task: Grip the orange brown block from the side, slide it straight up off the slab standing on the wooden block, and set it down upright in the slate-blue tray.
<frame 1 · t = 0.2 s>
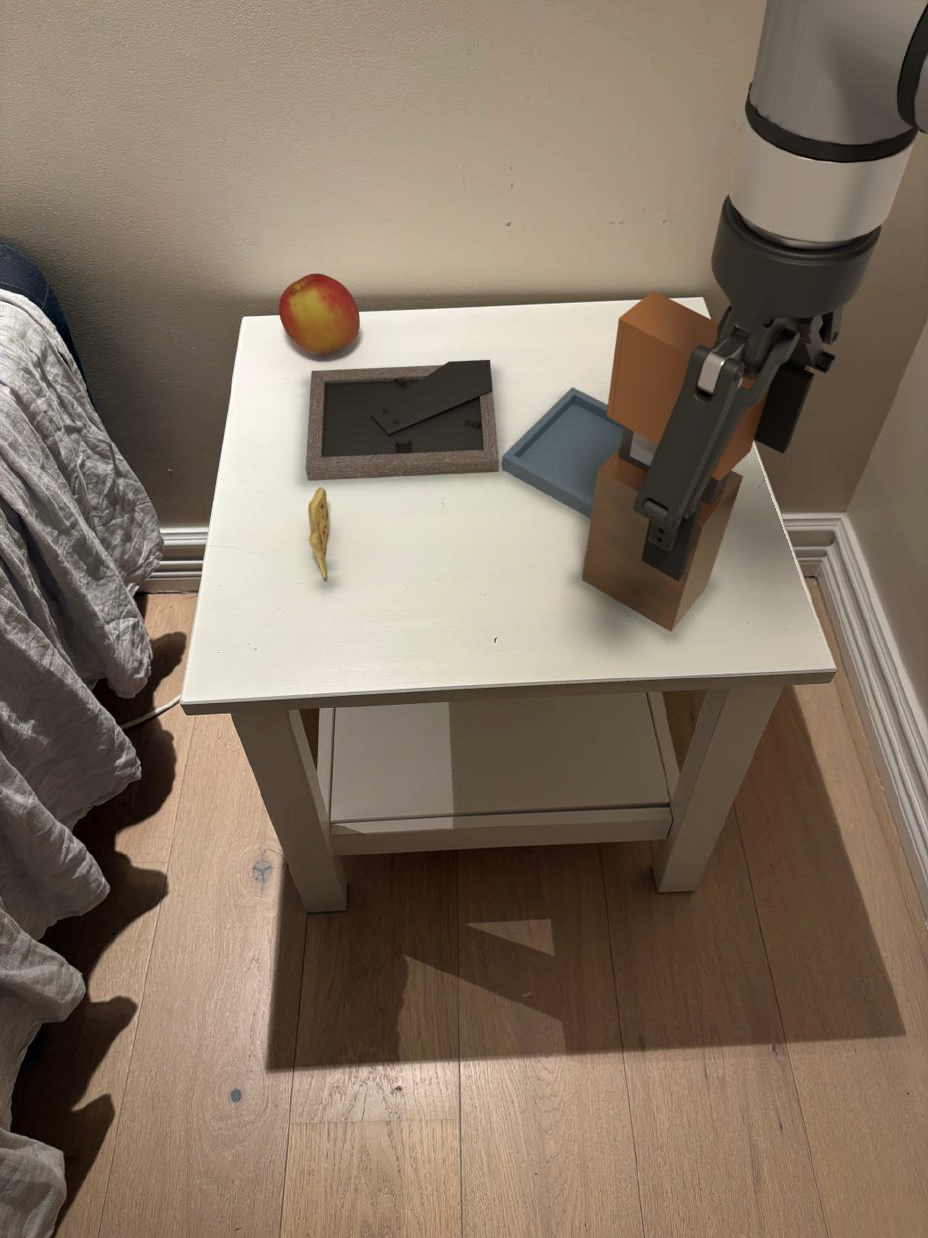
hand: (717, 502, 64), 19 cm above the table, tool pointing down, fingers open, 13 cm apart
orange brown block: (677, 433, 69), point 18 cm above the table, touching wooden block with slab, gripper
apple: (325, 347, 102), on the table
wooden block with slab: (644, 582, 84), on the table
picture frame: (402, 426, 95), on the table
tray: (595, 464, 92), on the table
pastry: (323, 548, 87), on the table
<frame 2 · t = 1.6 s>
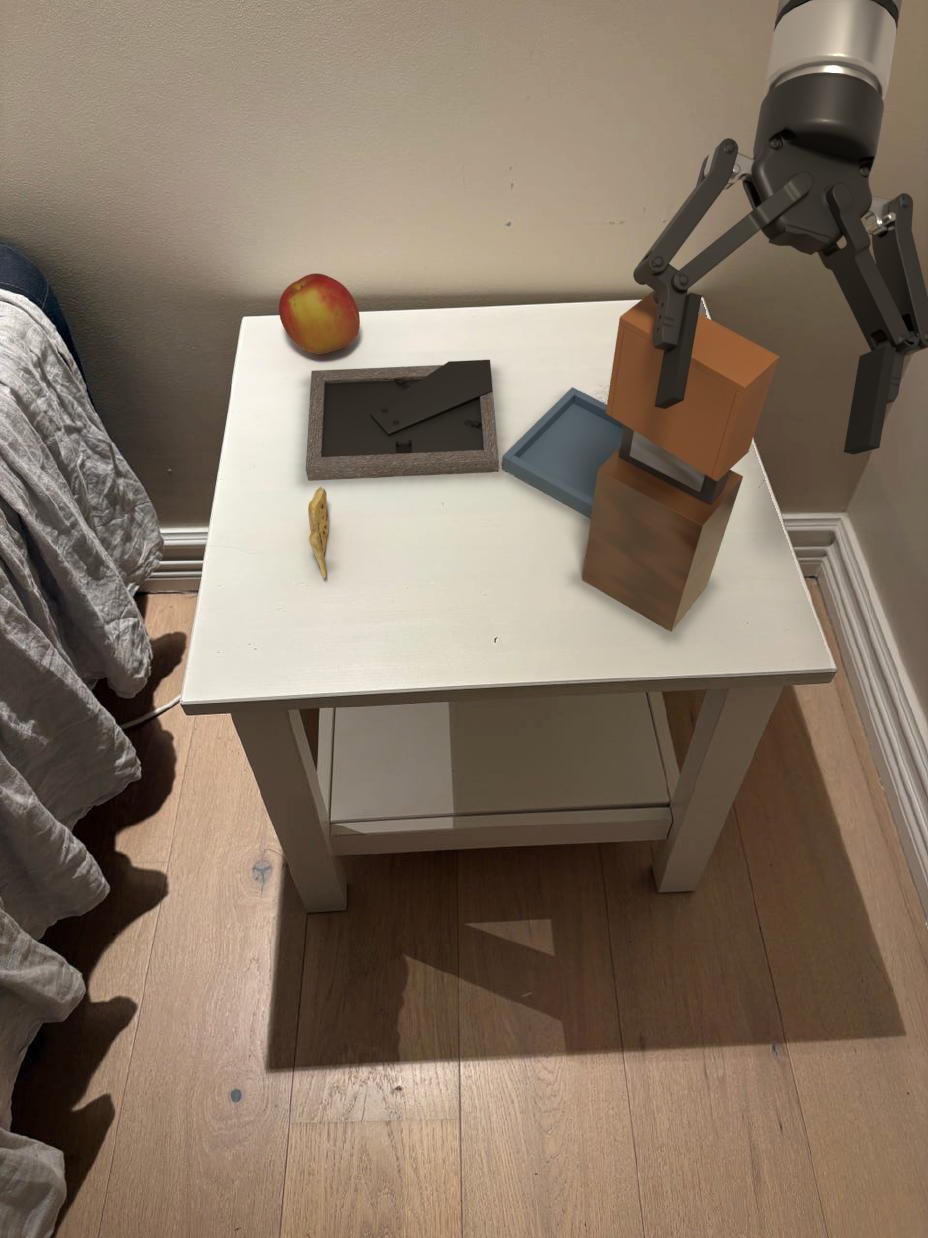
hand: (767, 428, 61), 24 cm above the table, tool tilted 60°, fingers open, 13 cm apart
nothing on the table moved.
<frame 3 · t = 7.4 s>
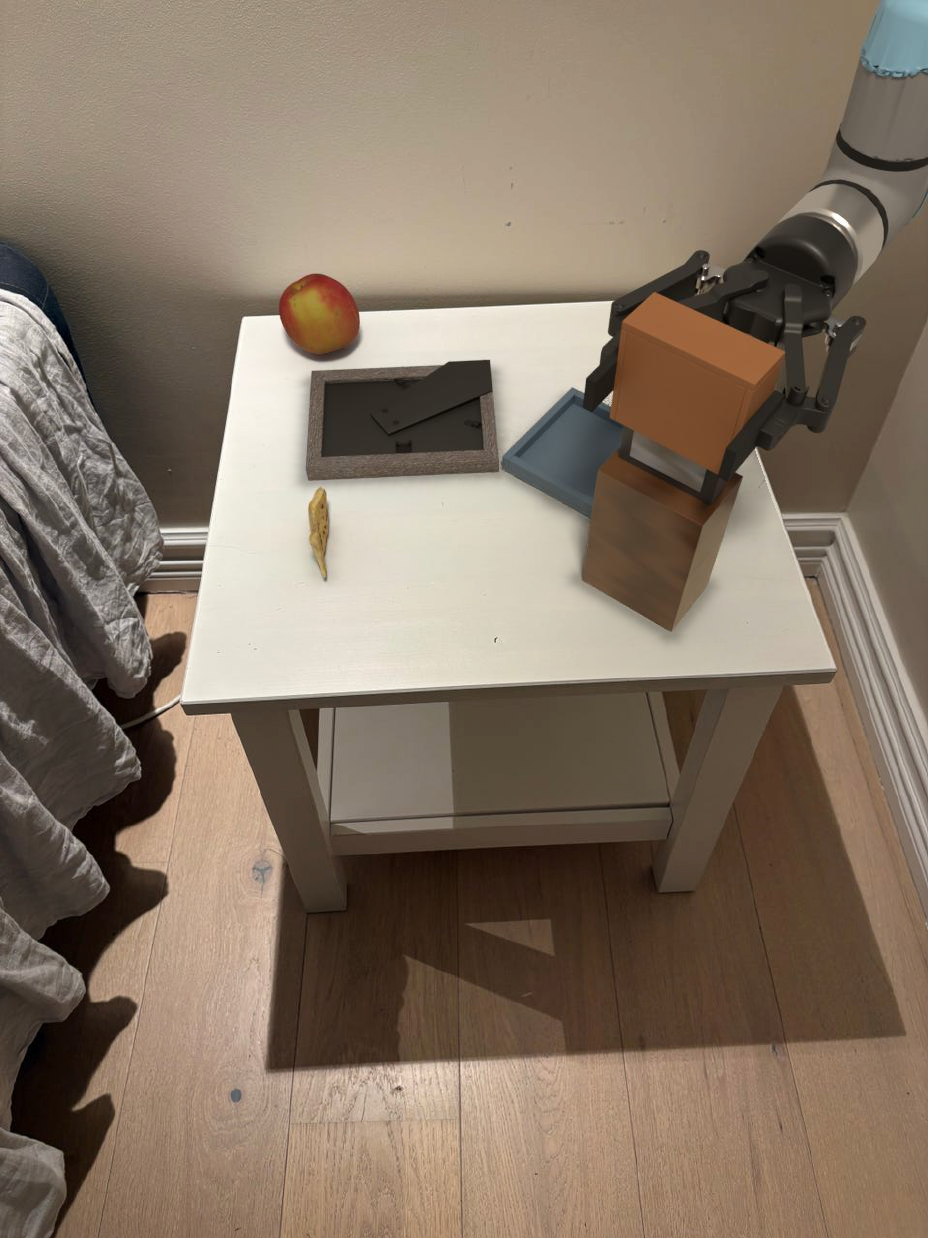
hand: (655, 429, 64), 22 cm above the table, tool horizontal, fingers closed on orange brown block, 10 cm apart
orange brown block: (681, 432, 69), point 18 cm above the table, touching gripper
everything else where it was.
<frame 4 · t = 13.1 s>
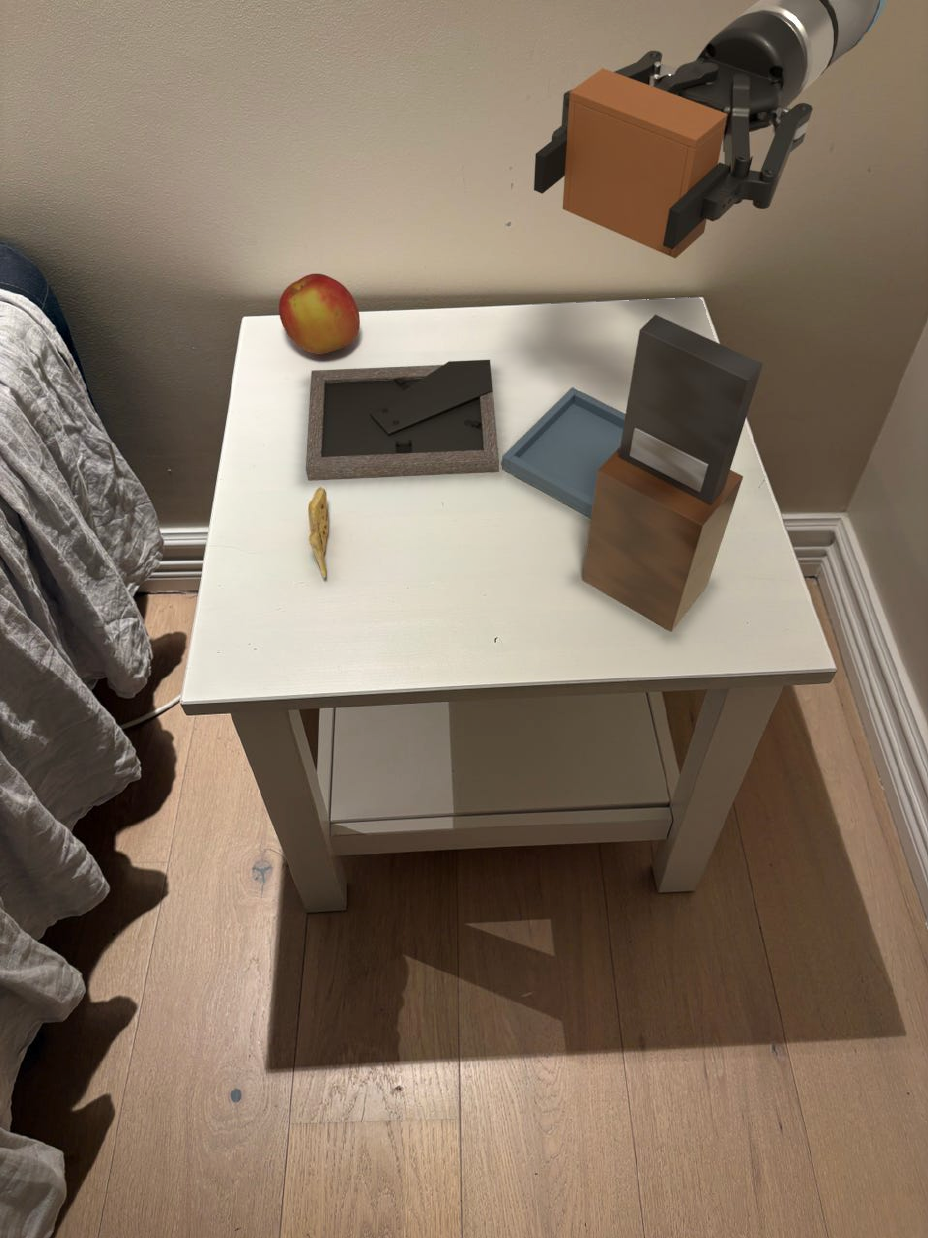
hand: (603, 200, 65), 30 cm above the table, tool horizontal, fingers closed on orange brown block, 10 cm apart
orange brown block: (632, 220, 70), point 26 cm above the table, touching gripper
everything else where it was.
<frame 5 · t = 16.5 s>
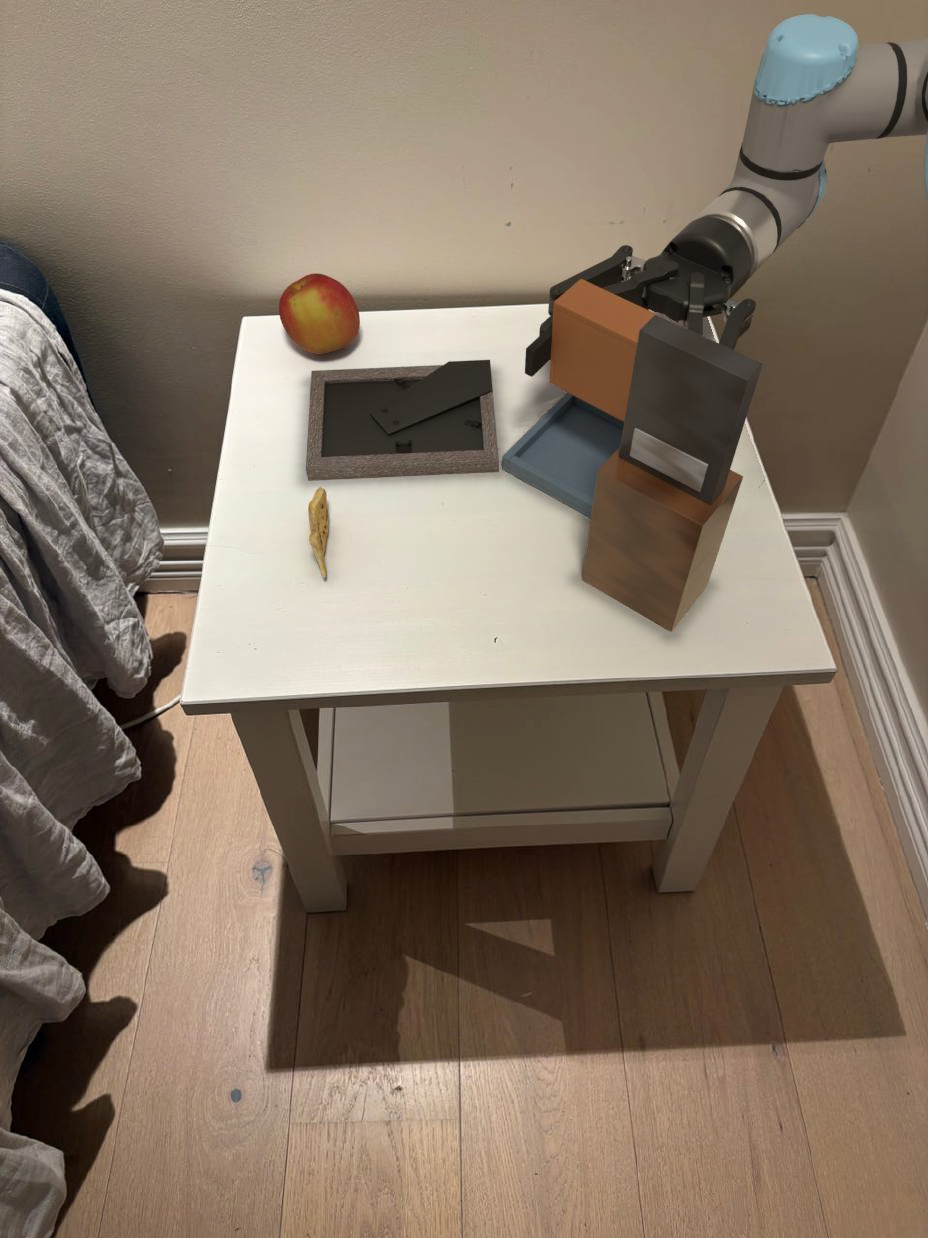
hand: (581, 389, 79), 13 cm above the table, tool horizontal, fingers closed on orange brown block, 10 cm apart
orange brown block: (606, 394, 84), point 9 cm above the table, touching gripper
everything else where it was.
when the fingers open (5 cm above the table, at t = 19.0 s): orange brown block stays where it is, resting on tray.
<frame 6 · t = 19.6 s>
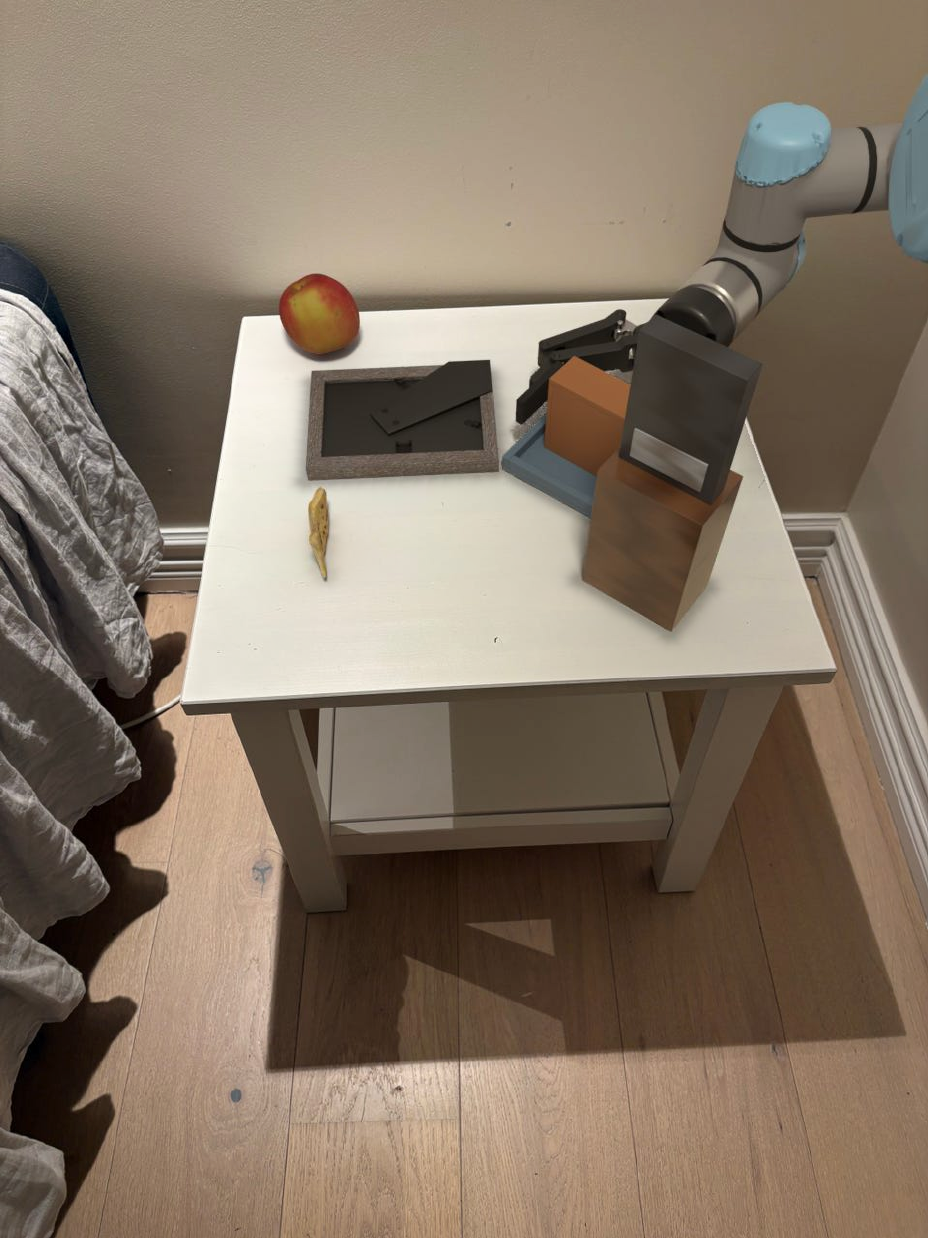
hand: (581, 445, 86), 5 cm above the table, tool horizontal, fingers open, 13 cm apart
orange brown block: (597, 459, 91), point 1 cm above the table, touching tray
everything else where it was.
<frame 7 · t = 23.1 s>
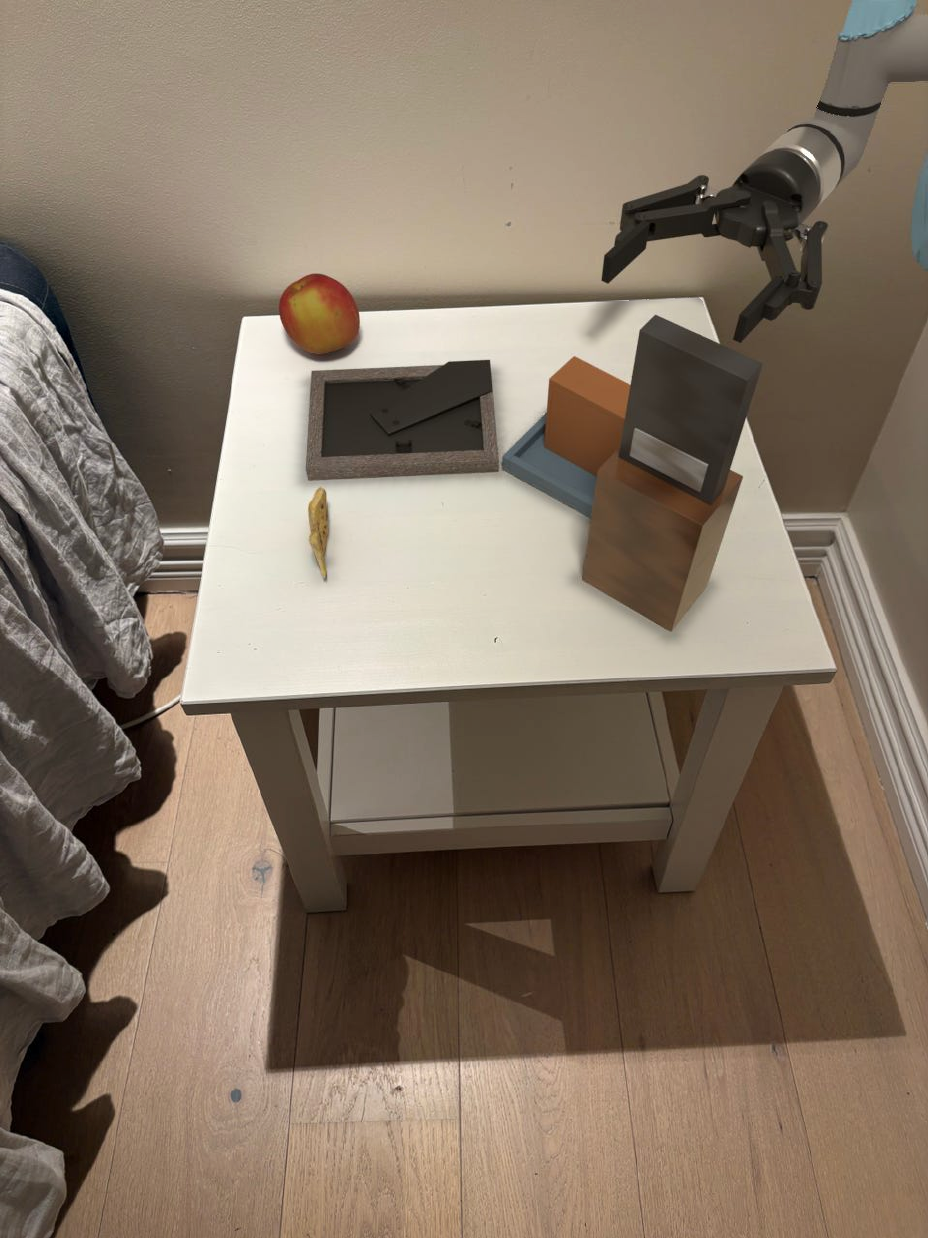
hand: (671, 298, 85), 13 cm above the table, tool horizontal, fingers open, 13 cm apart
nothing on the table moved.
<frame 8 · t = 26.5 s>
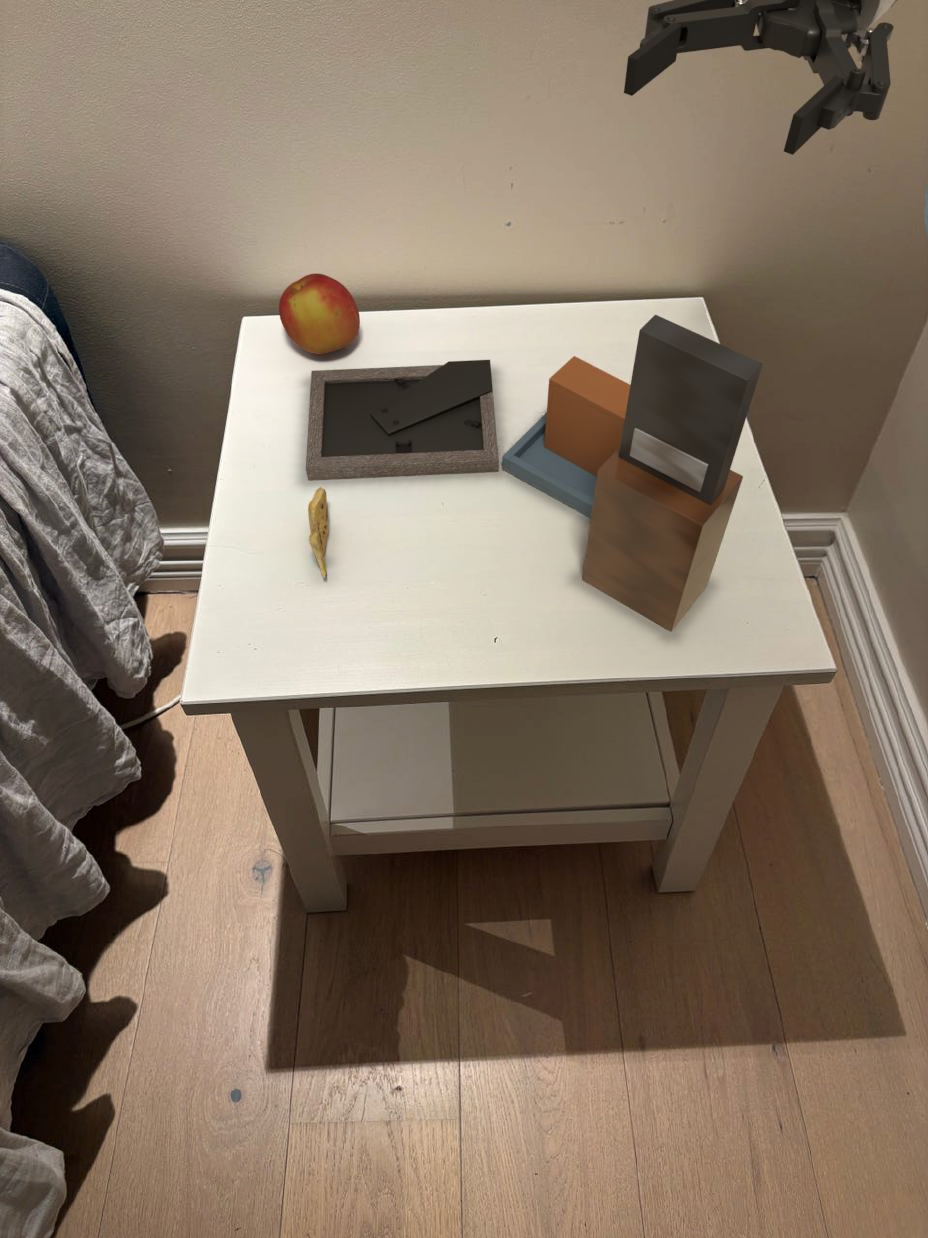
hand: (708, 104, 71), 30 cm above the table, tool horizontal, fingers open, 13 cm apart
nothing on the table moved.
at the end: orange brown block inside the target area in the tray (0.2 cm from its centre), point 0.6 cm above the tray's base; orange brown block tilted 0°; the gripper is holding nothing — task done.
